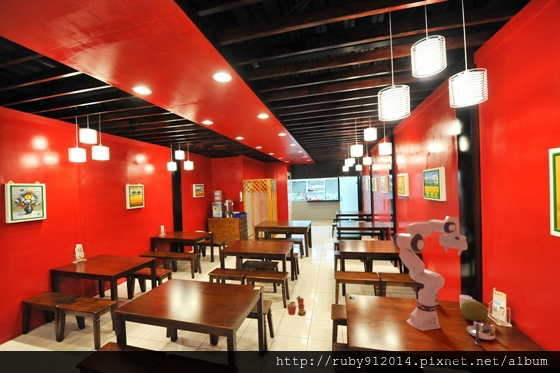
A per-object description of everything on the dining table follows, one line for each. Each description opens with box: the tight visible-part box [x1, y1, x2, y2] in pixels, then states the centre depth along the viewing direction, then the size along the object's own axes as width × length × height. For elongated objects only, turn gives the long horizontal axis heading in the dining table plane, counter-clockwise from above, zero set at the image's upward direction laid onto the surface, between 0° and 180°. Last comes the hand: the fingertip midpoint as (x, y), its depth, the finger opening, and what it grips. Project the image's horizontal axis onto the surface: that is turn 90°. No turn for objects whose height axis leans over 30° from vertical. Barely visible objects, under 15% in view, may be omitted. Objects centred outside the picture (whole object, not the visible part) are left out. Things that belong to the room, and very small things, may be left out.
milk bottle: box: [435, 291, 439, 306], centre depth 214 cm, size 8×8×20 cm
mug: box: [459, 294, 477, 309], centre depth 202 cm, size 12×8×10 cm
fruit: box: [460, 300, 489, 322], centre depth 186 cm, size 16×14×15 cm
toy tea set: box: [286, 295, 307, 317], centre depth 212 cm, size 26×16×10 cm, turn 176°
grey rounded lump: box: [478, 321, 491, 333], centre depth 170 cm, size 6×6×5 cm
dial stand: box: [473, 321, 483, 347], centre depth 159 cm, size 4×4×13 cm
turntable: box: [466, 324, 496, 341], centre depth 168 cm, size 15×15×7 cm
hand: (452, 253), depth 198 cm, fingers open, 8 cm apart
